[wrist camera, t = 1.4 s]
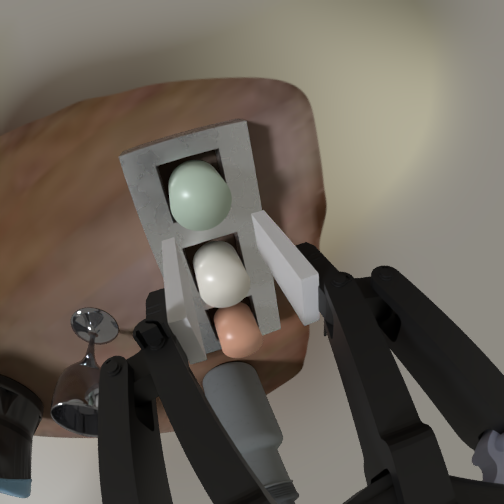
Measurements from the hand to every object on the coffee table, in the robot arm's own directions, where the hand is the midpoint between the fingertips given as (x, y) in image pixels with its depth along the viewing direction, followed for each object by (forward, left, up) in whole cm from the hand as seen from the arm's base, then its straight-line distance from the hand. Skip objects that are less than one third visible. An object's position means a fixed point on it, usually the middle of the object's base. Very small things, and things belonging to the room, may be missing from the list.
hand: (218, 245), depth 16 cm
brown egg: (0, -18, -12) cm, 22 cm away
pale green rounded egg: (0, 0, -12) cm, 12 cm away
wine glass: (-19, -15, -15) cm, 28 cm away
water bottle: (-4, -35, -15) cm, 38 cm away
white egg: (0, -9, -12) cm, 15 cm away
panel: (0, -9, -15) cm, 17 cm away
